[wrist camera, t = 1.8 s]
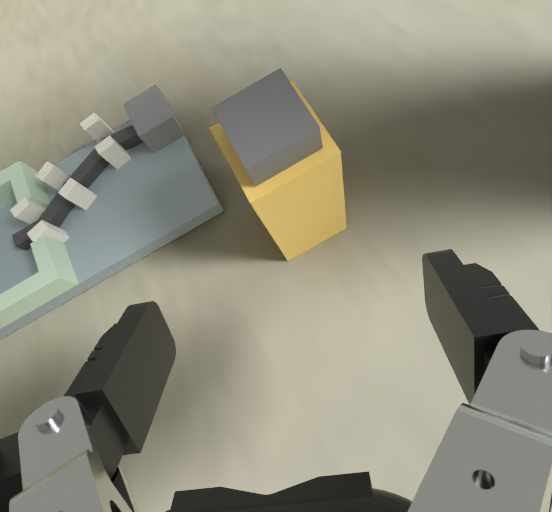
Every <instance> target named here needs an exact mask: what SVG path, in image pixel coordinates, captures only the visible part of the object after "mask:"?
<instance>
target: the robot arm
mask: <svg viewBox="0 0 552 512" xmlns="http://www.w3.org/2000/svg"><path fill="white" fill-rule="evenodd" d="M422 262H423V277H424V291H425V302H426V308H427V312H428V316H429V319H430V321H431V323H432V325H433V328H434V330H435V332H436V334H437V336H438V338H439V340H440V343H441V345H442V347H443V349H444V351H445V353H446V355H447V357H448V360H449V362H450V364H451V366H452V368H453V370H454V372H455V375H456V377H457V379H458V381H459V383H460V385H461V387H462V389H463V392H464V394H465V396H466V398H467V400H468V402H469V404H470V405H467V404H465V403H462V404H461V405H460V406H459V407H458V409H457V410H456V412H455V414H454V416H453V418H452V420H451V423H450V425H449V427H448V429H447V431H446V433H445V435H444V437H443V439H442V441H441V443H440V445H439V447H438V450H437V452H436V454H435V456H434V458H433V460H432V462H431V464H430V466H429V468H428V470H427V472H426V474H425V476H424V479H423V481H422V483H421V485H420V487H419V489H418V491H417V493H416V495H415V497H414V499H413V501H410V500H409V499H406V498H404V497H402V496H399V495H397V494H394V493H391V492H387V491H384V490H379V489H373V488H372V485H371V480H370V475H369V472H361V473H351V474H341V475H332V476H322V477H317V478H314V479H311V480H309V481H306V482H303V483H301V484H298V485H295V486H292V487H290V488H287V489H284V490H282V491H279V492H276V493H273V494H270V495H262V494H256V493H251V492H245V491H240V490H234V489H229V488H223V487H215V488H205V489H195V490H185V491H176V492H175V494H174V498H173V502H172V506H171V509H170V510H168V511H166V512H552V333H548V332H544V331H540V330H539V329H538V328H537V326H536V325H535V324H534V323H533V322H532V320H531V319H530V318H529V317H528V315H527V314H526V313H525V312H524V311H523V309H522V308H521V307H520V306H519V304H518V303H517V302H516V301H515V300H514V298H513V297H512V296H510V295H509V292H508V291H507V290H506V289H505V287H504V286H502V285H501V283H500V281H499V280H498V279H497V278H496V276H495V275H494V274H493V273H492V272H491V271H489V270H487V269H485V268H484V267H482V266H480V265H478V264H476V263H473V264H468V265H463V264H462V262H461V261H460V260H459V258H458V257H457V255H456V254H455V253H454V251H453V250H452V249H449V250H443V251H438V252H432V253H426V254H423V258H422ZM175 355H176V348H175V342H174V339H173V337H172V335H171V332H170V330H169V328H168V326H167V324H166V321H165V319H164V317H163V315H162V313H161V310H160V308H159V306H158V305H157V303H155V302H154V301H151V302H145V303H140V304H134V305H130V306H128V307H127V308H126V310H125V312H124V313H123V315H122V317H121V318H120V320H119V322H118V323H117V324H114V325H113V326H112V327H111V328H110V329H109V330H108V331H107V332H106V333H105V334H104V335H103V336H102V337H101V338H100V340H99V342H98V343H97V345H96V346H95V348H94V351H92V353H91V354H90V356H89V357H88V361H87V362H85V364H84V365H83V367H82V368H81V370H80V372H79V373H78V375H77V376H76V378H75V379H74V381H73V383H72V384H71V386H70V387H69V389H68V390H67V392H66V394H65V395H64V397H59V398H56V399H53V400H51V401H49V402H47V403H45V404H43V405H42V406H40V407H39V408H38V409H36V410H35V411H34V412H33V413H32V414H31V415H30V416H29V417H28V418H27V419H26V420H25V421H24V423H23V424H22V426H21V428H20V430H19V432H18V433H15V434H12V435H10V436H7V437H5V438H2V439H0V512H139V511H138V509H137V506H136V503H135V501H134V498H133V495H132V493H131V490H130V487H129V485H128V482H127V479H126V477H125V474H124V471H123V470H122V468H121V466H120V465H119V462H120V460H121V457H122V455H126V454H135V453H141V450H142V447H143V444H144V442H145V439H146V436H147V434H148V431H149V428H150V425H151V423H152V420H153V417H154V414H155V412H156V409H157V406H158V404H159V401H160V398H161V395H162V393H163V390H164V387H165V384H166V382H167V379H168V376H169V374H170V371H171V368H172V365H173V363H174V360H175Z"/></svg>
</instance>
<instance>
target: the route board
mask: <svg viewBox="0 0 552 512" xmlns="http://www.w3.org/2000/svg"><path fill="white" fill-rule="evenodd" d="M124 107H125V109H126V111H127V113H128V115H129V117H130V120H129V121H127V122H125V123H124V124H122V125H120V126H119V127H117V128H115V129H113V130H112V129H111V128H110V127H109V126H108V125H107V124H106V123H105V122H104V121H103V120H102V119H101V118H100V117H99V116H98V115H97V114H96V113H95V112H94V113H93V114H92V115H90V116H89V117H88V118H86V119H85V120H84V121H82V122H81V123H80V125H81V127H82V128H83V130H84V131H85V132H86V133H87V134H89V135H90V136H91V137H92V138H93V139H94V140H95V141H93V142H91V143H90V144H88V145H86V146H85V147H83V148H81V149H80V150H78V151H76V152H75V153H73V154H71V155H69V156H68V157H66V158H64V159H63V160H61V161H59V162H58V163H56V164H54V165H53V164H51V163H50V162H48V161H47V162H46V163H45V164H44V166H43V167H42V168H41V169H40V171H39V172H38V171H36V170H34V169H33V168H31V167H29V166H28V165H26V164H24V163H23V162H21V161H20V160H19V161H17V162H16V163H14V164H12V165H10V166H9V167H7V168H5V169H4V170H2V171H0V339H2V338H4V337H5V336H7V335H9V334H11V333H12V332H14V331H16V330H18V329H19V328H21V327H23V326H25V325H26V324H28V323H30V322H32V321H33V320H35V319H37V318H39V317H40V316H42V315H44V314H46V313H47V312H49V311H51V310H53V309H54V308H56V307H58V306H60V305H61V304H63V303H65V302H67V301H68V300H70V299H72V298H74V297H75V296H77V295H79V294H81V293H82V292H84V291H86V290H87V289H89V288H91V287H93V286H94V285H96V284H98V283H100V282H101V281H103V280H105V279H107V278H108V277H110V276H112V275H114V274H115V273H117V272H119V271H121V270H122V269H124V268H126V267H128V266H129V265H131V264H133V263H135V262H136V261H138V260H140V259H142V258H143V257H145V256H147V255H149V254H150V253H152V252H154V251H156V250H157V249H159V248H161V247H163V246H164V245H166V244H168V243H170V242H171V241H173V240H175V239H176V238H178V237H180V236H182V235H183V234H185V233H187V232H189V231H190V230H192V229H194V228H196V227H197V226H199V225H201V224H203V223H204V222H206V221H208V220H210V219H211V218H213V217H215V216H217V215H218V214H220V213H222V212H224V210H223V208H222V206H221V204H220V202H219V200H218V198H217V196H216V194H215V192H214V190H213V189H212V187H211V185H210V183H209V181H208V179H207V177H206V175H205V173H204V171H203V169H202V167H201V165H200V163H199V162H198V160H197V158H196V156H195V154H194V152H193V150H192V148H191V146H190V144H189V142H188V140H187V138H186V137H185V135H186V134H185V132H184V130H183V128H182V127H181V125H180V123H179V121H178V119H177V117H176V115H175V113H174V111H173V109H172V107H171V105H170V104H169V102H168V101H167V100H166V98H165V97H164V95H163V94H162V93H161V91H160V90H159V88H158V87H157V86H156V85H155V86H153V87H151V88H150V89H148V90H146V91H145V92H143V93H141V94H140V95H138V96H136V97H134V98H133V99H131V100H129V101H128V102H126V103H124Z"/></svg>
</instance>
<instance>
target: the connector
mask: <svg viewBox="0 0 552 512" xmlns="http://www.w3.org/2000/svg"><path fill="white" fill-rule="evenodd" d="M212 110H213V112H214V114H215V116H216V117H217V119H218V121H219V122H218V123H216V124H214V125H212V126H211V127H209V129H210V131H211V133H212V135H213V137H214V138H215V140H216V142H217V144H218V146H219V148H220V149H221V151H222V153H223V155H224V157H225V159H226V160H227V162H228V164H229V166H230V168H231V169H232V171H233V173H234V175H235V177H236V179H237V180H238V182H239V184H240V186H241V188H242V189H243V191H244V193H245V195H246V197H247V199H248V200H249V202H250V204H251V205H252V207H253V209H254V210H255V212H256V213H257V215H258V216H259V218H260V219H261V221H262V222H263V224H264V225H265V227H266V228H267V230H268V231H269V233H270V235H271V236H272V238H273V239H274V241H275V242H276V244H277V245H278V247H279V248H280V250H281V251H282V253H283V254H284V256H285V258H286V259H287V261H290V260H291V259H293V258H295V257H297V256H298V255H300V254H302V253H304V252H306V251H307V250H309V249H311V248H313V247H314V246H316V245H318V244H320V243H322V242H323V241H325V240H327V239H329V238H330V237H332V236H334V235H336V234H338V233H339V232H341V231H343V230H345V229H346V228H347V224H346V211H345V198H344V185H343V172H342V159H341V151H340V149H339V148H338V146H337V145H336V143H335V142H334V140H333V139H332V137H331V136H330V135H329V133H328V132H327V130H326V129H325V127H324V126H323V124H322V123H321V121H320V120H319V118H318V117H317V115H316V114H315V112H314V111H313V109H312V108H311V106H310V105H309V103H308V102H307V100H306V99H305V98H304V96H303V95H302V93H301V92H300V90H299V89H298V87H297V86H296V84H295V83H294V81H293V80H292V79H291V80H290V81H289V80H288V78H287V77H286V76H285V74H284V73H283V71H282V70H281V68H280V69H278V70H276V71H275V72H273V73H271V74H270V75H268V76H266V77H264V78H263V79H261V80H259V81H258V82H256V83H254V84H252V85H251V86H249V87H247V88H246V89H244V90H242V91H240V92H239V93H237V94H235V95H234V96H232V97H230V98H229V99H227V100H225V101H223V102H222V103H220V104H218V105H217V106H215V107H213V108H212Z"/></svg>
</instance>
